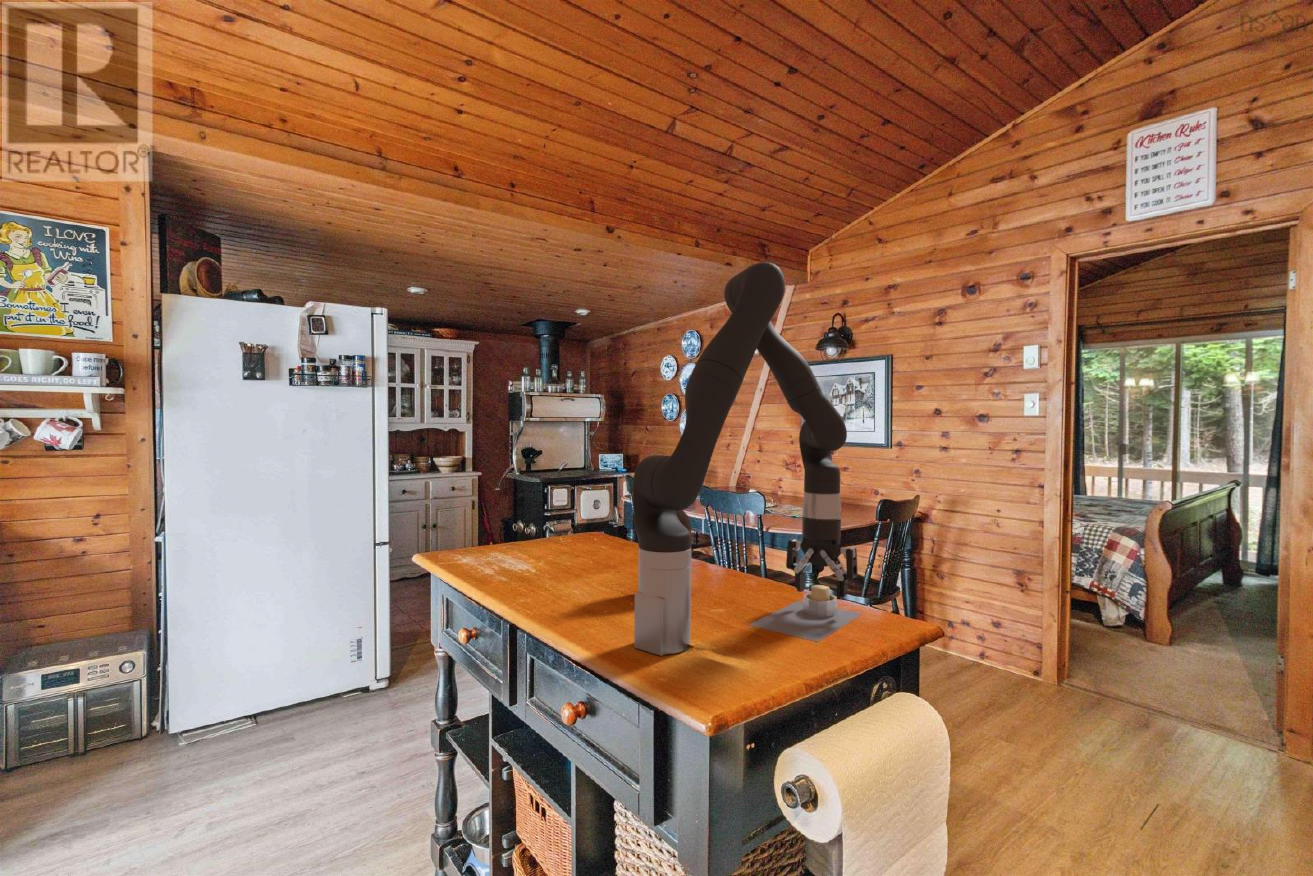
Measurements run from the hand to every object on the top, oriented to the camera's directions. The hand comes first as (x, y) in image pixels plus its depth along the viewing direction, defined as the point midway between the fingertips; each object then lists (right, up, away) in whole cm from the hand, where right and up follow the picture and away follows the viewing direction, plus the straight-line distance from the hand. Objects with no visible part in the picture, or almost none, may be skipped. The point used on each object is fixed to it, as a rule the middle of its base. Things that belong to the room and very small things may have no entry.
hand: (820, 595), depth 122 cm
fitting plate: (-4, -5, -4) cm, 7 cm away
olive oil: (-31, -4, +17) cm, 35 cm away
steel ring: (0, -4, 0) cm, 4 cm away
